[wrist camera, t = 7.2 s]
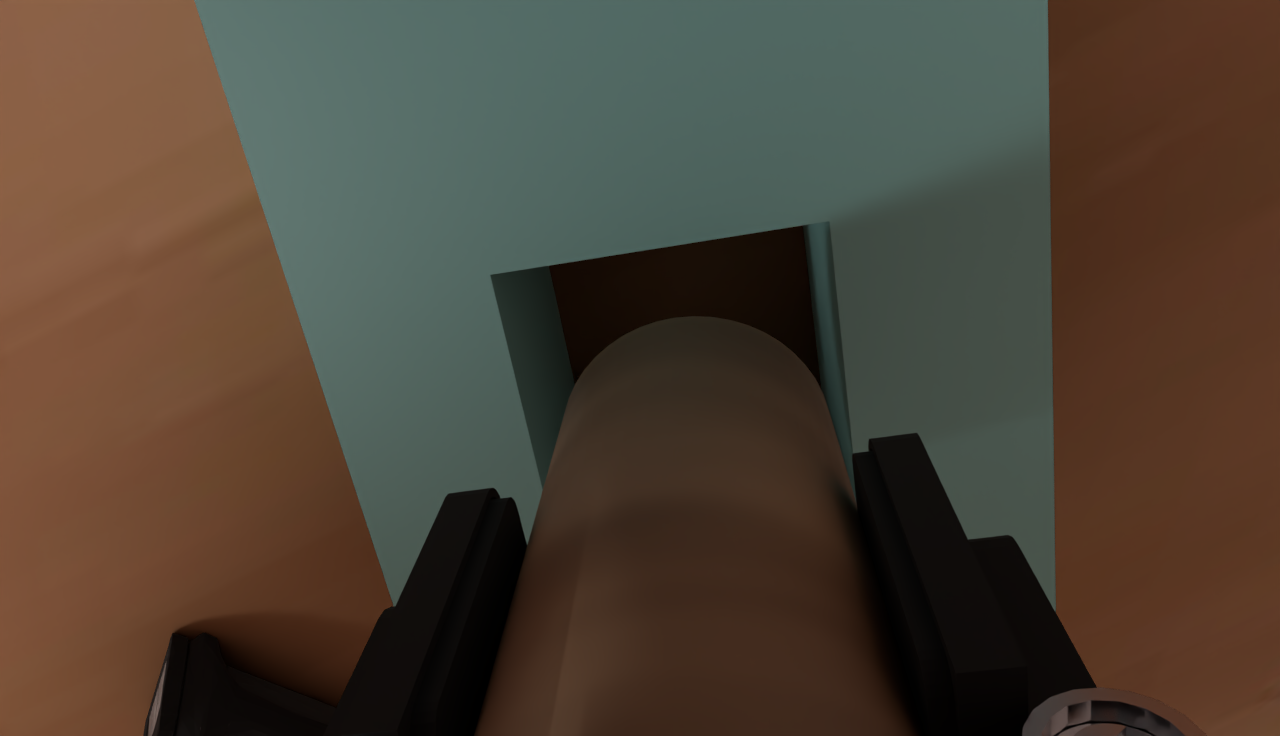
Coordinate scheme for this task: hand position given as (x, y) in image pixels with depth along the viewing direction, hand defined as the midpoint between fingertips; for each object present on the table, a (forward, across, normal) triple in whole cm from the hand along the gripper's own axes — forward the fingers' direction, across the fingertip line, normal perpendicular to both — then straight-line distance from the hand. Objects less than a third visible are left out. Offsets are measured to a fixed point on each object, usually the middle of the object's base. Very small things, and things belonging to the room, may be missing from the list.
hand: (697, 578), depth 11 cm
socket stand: (+10, 0, -2) cm, 10 cm away
